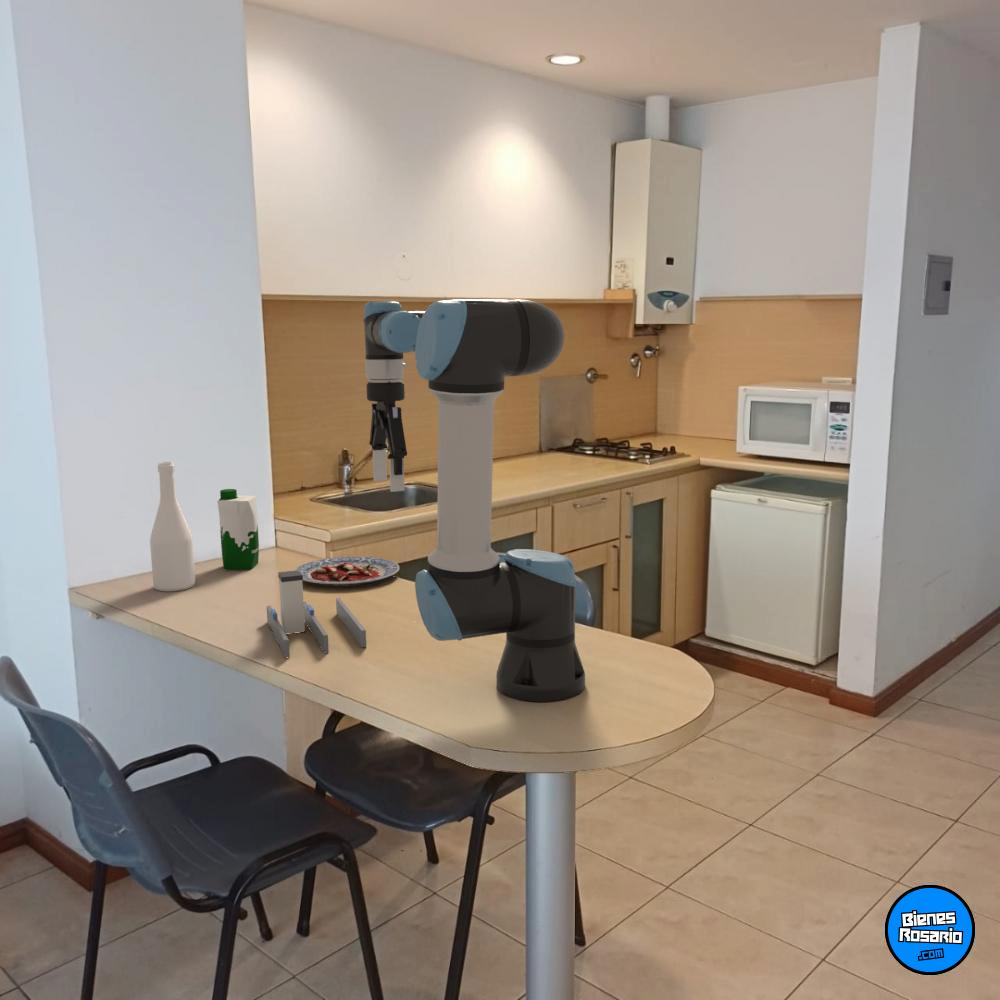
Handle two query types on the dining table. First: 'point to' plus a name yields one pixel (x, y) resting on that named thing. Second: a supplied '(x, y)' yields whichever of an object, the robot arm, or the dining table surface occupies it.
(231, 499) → the milk carton
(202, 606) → the dining table surface
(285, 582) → the block
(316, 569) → the ceramic plate
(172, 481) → the wine bottle
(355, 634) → the grey upright slats
